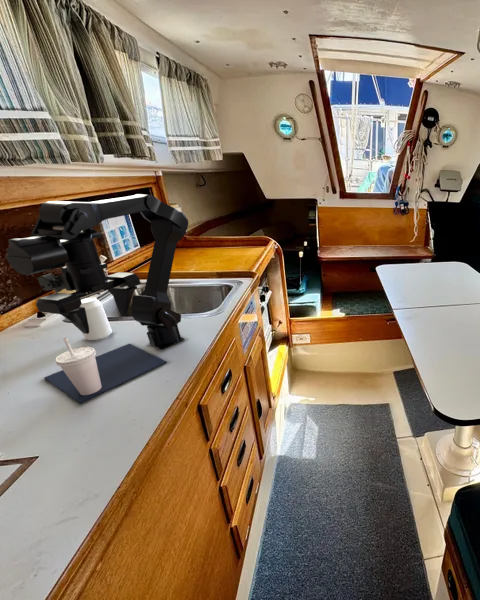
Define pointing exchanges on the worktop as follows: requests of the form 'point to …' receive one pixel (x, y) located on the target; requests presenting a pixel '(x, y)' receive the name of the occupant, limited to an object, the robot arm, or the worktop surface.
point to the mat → (111, 371)
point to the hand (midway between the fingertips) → (106, 324)
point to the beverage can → (96, 319)
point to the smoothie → (80, 368)
